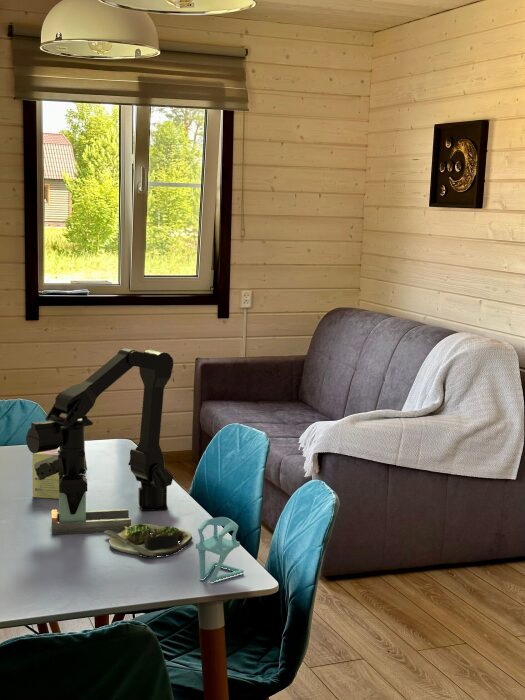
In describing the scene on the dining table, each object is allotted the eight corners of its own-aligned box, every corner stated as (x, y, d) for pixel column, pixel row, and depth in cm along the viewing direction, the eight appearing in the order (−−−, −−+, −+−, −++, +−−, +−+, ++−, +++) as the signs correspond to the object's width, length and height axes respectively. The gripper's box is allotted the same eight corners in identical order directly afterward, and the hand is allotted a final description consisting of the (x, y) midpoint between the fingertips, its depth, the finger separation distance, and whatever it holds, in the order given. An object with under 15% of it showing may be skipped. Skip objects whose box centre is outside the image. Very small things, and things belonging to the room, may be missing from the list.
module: (85, 515, 218) (84, 482, 216) (85, 521, 213) (85, 488, 212) (59, 516, 216) (58, 484, 215) (59, 523, 212) (59, 489, 211)
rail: (128, 518, 222) (128, 504, 222) (131, 530, 214) (131, 516, 213) (51, 521, 218) (51, 507, 218) (52, 535, 210) (51, 520, 209)
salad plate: (84, 550, 202) (84, 530, 201) (128, 525, 218) (128, 507, 217) (161, 566, 194) (161, 545, 194) (200, 539, 211) (200, 520, 210)
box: (78, 493, 241) (78, 449, 239) (71, 500, 235) (71, 455, 233) (39, 491, 242) (39, 447, 240) (32, 498, 236) (31, 453, 234)
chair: (190, 578, 188) (190, 522, 186) (214, 565, 194) (214, 511, 192) (220, 587, 183) (221, 530, 181) (244, 574, 190) (245, 518, 188)
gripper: (36, 437, 219) (37, 500, 222) (35, 458, 201) (36, 526, 204) (84, 435, 222) (84, 498, 224) (87, 456, 204) (87, 523, 206)
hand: (72, 510), depth 215 cm, fingers closed on module, 4 cm apart
